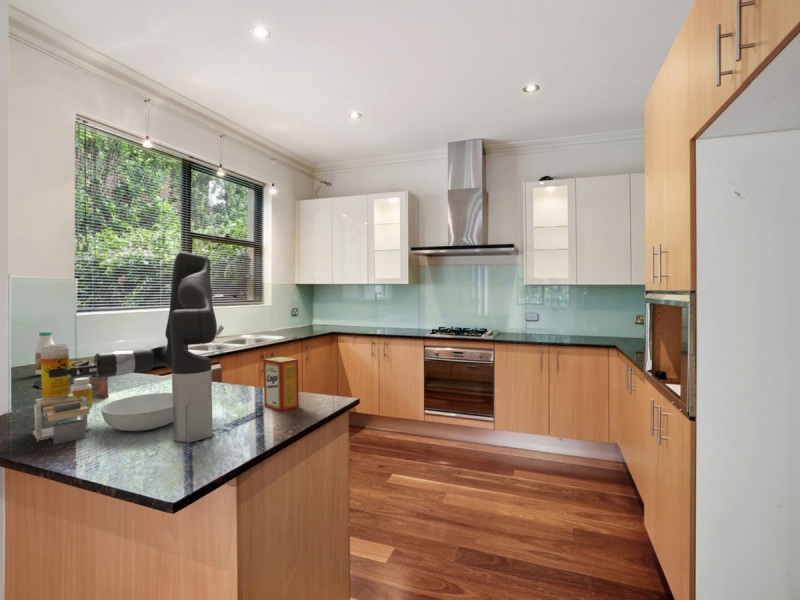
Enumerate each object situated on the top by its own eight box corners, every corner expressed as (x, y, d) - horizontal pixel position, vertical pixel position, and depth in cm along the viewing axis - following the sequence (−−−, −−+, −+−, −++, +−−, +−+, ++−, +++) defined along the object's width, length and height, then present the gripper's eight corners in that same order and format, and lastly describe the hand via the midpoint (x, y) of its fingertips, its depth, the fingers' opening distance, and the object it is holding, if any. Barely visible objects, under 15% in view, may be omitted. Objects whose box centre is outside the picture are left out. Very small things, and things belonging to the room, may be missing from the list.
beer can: (53, 401, 112) (52, 347, 112) (36, 400, 114) (34, 346, 113) (75, 395, 118) (74, 344, 118) (58, 394, 119) (57, 343, 119)
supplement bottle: (95, 407, 134) (94, 378, 134) (75, 411, 130) (74, 381, 130) (88, 404, 137) (87, 376, 137) (69, 408, 133) (68, 379, 133)
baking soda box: (264, 406, 133) (263, 358, 133) (281, 402, 138) (280, 355, 138) (281, 411, 127) (280, 361, 127) (298, 407, 132) (297, 358, 132)
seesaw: (89, 414, 106) (89, 402, 106) (49, 422, 100) (48, 409, 100) (71, 399, 120) (71, 388, 120) (35, 405, 114) (35, 393, 114)
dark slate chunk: (30, 385, 169) (30, 374, 168) (94, 376, 186) (94, 366, 186) (39, 391, 159) (39, 379, 159) (106, 381, 177) (105, 370, 177)
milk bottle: (41, 373, 193) (40, 331, 192) (60, 372, 195) (59, 330, 194) (32, 376, 185) (30, 332, 185) (52, 375, 188) (51, 332, 187)
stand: (96, 435, 107) (95, 403, 107) (41, 447, 99) (40, 413, 99) (83, 423, 117) (83, 394, 117) (32, 434, 109) (31, 403, 109)
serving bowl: (81, 437, 106) (80, 411, 106) (142, 413, 127) (142, 391, 127) (153, 441, 103) (152, 414, 103) (204, 415, 124) (203, 393, 124)
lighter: (84, 397, 147) (84, 370, 147) (93, 395, 150) (93, 368, 150) (102, 398, 145) (101, 371, 145) (111, 396, 148) (110, 369, 148)
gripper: (108, 349, 131) (41, 356, 118) (121, 354, 121) (50, 361, 109) (108, 373, 131) (42, 381, 119) (121, 379, 121) (51, 389, 109)
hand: (46, 372), depth 114 cm, fingers open, 8 cm apart
